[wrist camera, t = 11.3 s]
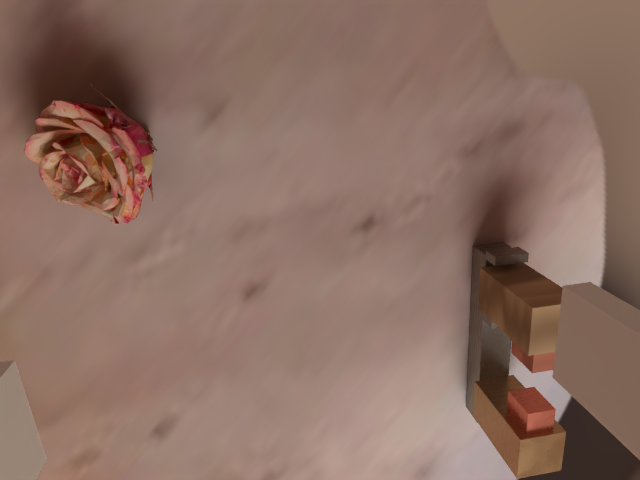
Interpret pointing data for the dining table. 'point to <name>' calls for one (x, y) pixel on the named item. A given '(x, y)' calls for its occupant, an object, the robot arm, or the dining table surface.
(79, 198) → the flower
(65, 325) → the dining table surface
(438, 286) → the dining table surface
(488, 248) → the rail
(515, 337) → the walnut finger
